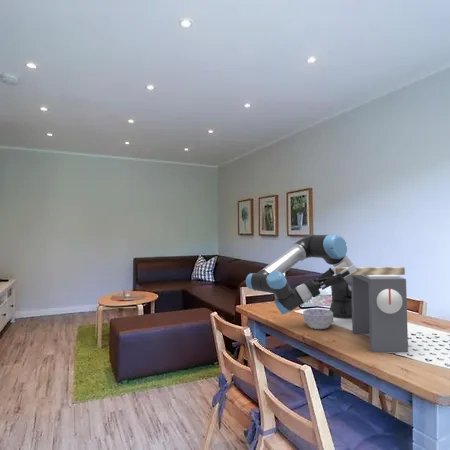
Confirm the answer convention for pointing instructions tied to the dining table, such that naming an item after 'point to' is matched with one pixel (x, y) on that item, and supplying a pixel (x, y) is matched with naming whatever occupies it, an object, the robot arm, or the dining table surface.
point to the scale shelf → (380, 311)
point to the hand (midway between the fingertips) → (350, 265)
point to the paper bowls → (318, 318)
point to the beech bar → (375, 270)
